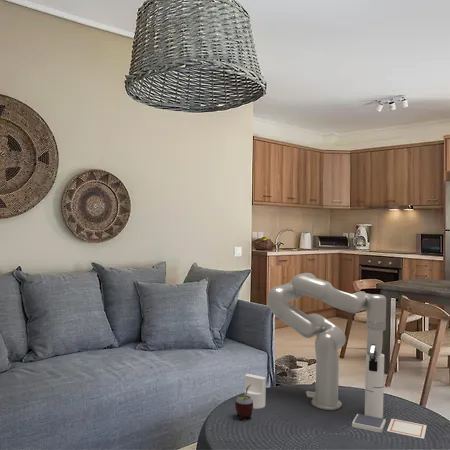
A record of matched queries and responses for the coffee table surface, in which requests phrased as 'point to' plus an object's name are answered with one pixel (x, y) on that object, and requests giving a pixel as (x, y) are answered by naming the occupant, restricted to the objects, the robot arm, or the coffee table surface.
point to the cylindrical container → (374, 388)
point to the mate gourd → (244, 406)
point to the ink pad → (369, 423)
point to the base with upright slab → (256, 390)
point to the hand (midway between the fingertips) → (374, 367)
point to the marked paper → (407, 428)
